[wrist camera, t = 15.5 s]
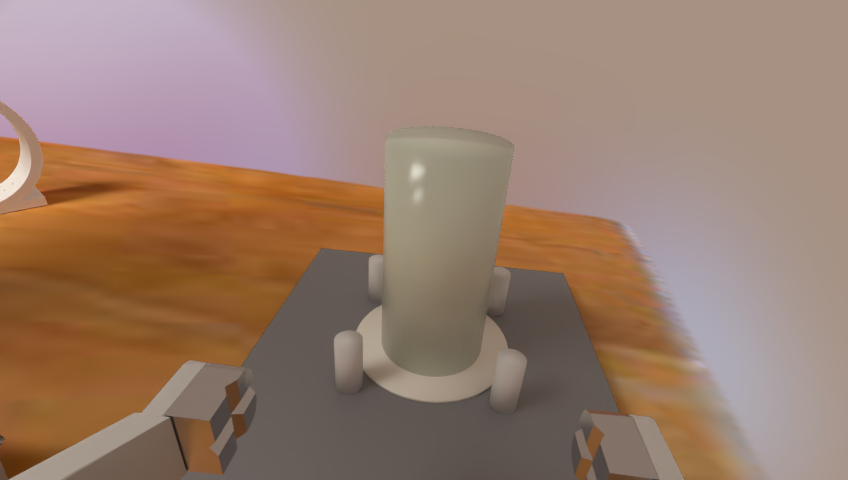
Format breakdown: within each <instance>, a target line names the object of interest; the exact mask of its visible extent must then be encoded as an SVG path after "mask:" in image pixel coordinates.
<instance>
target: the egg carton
mask: <svg viewBox="0 0 848 480" xmlns="http://www.w3.org/2000/svg"><path fill="white" fill-rule="evenodd" d="M3 441H4V437H3V436H1V435H0V445H1V444H2V443H3ZM0 480H8V479H7V476H6V473H5V470H4V467H3V465H2V463H1V461H0Z"/></svg>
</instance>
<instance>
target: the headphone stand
mask: <svg viewBox="0 0 848 480" xmlns="http://www.w3.org/2000/svg"><path fill="white" fill-rule="evenodd" d="M0 113H1V114H2V115H4V116H5V117H6V118H7V120H8V121H9V122H10V123H11V125H12V126H13V128H14V129H15V131H16V133H17V136H18V138H19V142H20V150H21V152H20V159H19V162H18V165H17V167H16V169H15V170H14V172H13V173H12V174H11V175H10V176H9V178H7V179H6V180H5V181H4V182H2V183H1V184H0V214H3V213H8V212H13V211H18V210H23V209H29V208H34V207H39V206H44V205H48V204H47V201H46V199H45V197H44V196H43V195H42V193H41V192H40V191H39V190H38V189H37V188H36V187H35V185H36V183H37V182H38V180H39V177H40V175H41V171H42V165H43V156H42V150H41V147H40V144H39V141H38V139H37V137H36V135H35V134H34V132H33V131H32V129H31V128H30V127H29V125H28V124H27V123H26V122H25V121H24V120H23V119H22V118H21V117H20V116H19V115H18V114H17V113H16V112H14V111H13V110H12V109H10V108H9V107H8V106H7V105H5V104H4V103H2V102H1V101H0Z"/></svg>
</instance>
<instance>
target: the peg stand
mask: <svg viewBox="0 0 848 480" xmlns="http://www.w3.org/2000/svg"><path fill="white" fill-rule="evenodd" d="M382 287H383V255H382V254H372V253H363V252H353V251H344V250H334V249H324V248H321V249H320V251H319V252H318V254H317V255H316V257H315V258H314V260H313V261H312V263H311V264H310V266H309V267H308V269H307V270H306V272H305V273H304V275H303V276H302V277H301V279H300V280H299V282H298V283H297V285H296V286H295V288H294V289H293V291H292V292H291V294H290V295H289V297H288V298H287V300H286V301H285V303H284V304H283V305H282V307H281V308H280V310H279V311H278V313H277V314H276V316H275V317H274V319H273V320H272V322H271V323H270V325H269V326H268V328H267V329H266V331H265V332H264V333H263V335H262V336H261V338H260V339H259V341H258V342H257V344H256V345H255V347H254V348H253V350H252V351H251V353H250V354H249V356H248V357H247V359H246V360H245V361H244V363H243V364H242V366H241V367H242V368H248V369H251V370H252V375H253V381H252V383H251V385H250V387H251V388H252V389H253V390H254V391H255V393H256V398H257V403H256V411H255V414H254V418H253V421H252V423H251V425H250V427H249V429H248V431H247V432H246V433H245V434H243V435H242V436H240V437H239V438H237V439H236V443H237V448H238V449H237V451H236V452H235V454H234V456H233V458H232V460H231V461H230V463H229V465H228V467H227V469H226V470H225V472H224V474H223V475H220V474H210V473H201V472H191V471H187V474H186V475H184V476H183V477H182V478H181V479H179V480H579V479H578V478H577V477H576V476H575V474H574V469H573V465H572V457H571V450H572V441H573V437H574V434H575V432H577V431H579V430H580V429H582V428H581V424H580V417H581V414H582V412H583V411H584V410H585V409H587V410H596V411H605V412H614V413H620V412H619V409H618V407H617V405H616V402H615V400H614V397H613V395H612V392H611V390H610V387H609V385H608V382H607V380H606V377H605V375H604V372H603V370H602V367H601V365H600V363H599V360H598V358H597V355H596V353H595V350H594V348H593V345H592V343H591V340H590V338H589V335H588V333H587V330H586V328H585V325H584V323H583V321H582V318H581V316H580V313H579V311H578V308H577V306H576V303H575V301H574V298H573V296H572V293H571V291H570V288H569V286H568V283H567V281H566V279H565V276H564V274H563V273H554V272H545V271H535V270H525V269H516V268H506V267H497V266H495V267H494V273H493V279H492V286H491V292H490V298H489V304H488V310H487V316H486V322H485V328H484V334H483V340H482V346H481V352H480V354H479V357H478V358H477V360H476V361H475V362H474V363H473V364H472V365H471V366H470V367H469V368H467V369H466V370H464V371H462V372H459V373H456V374H453V375H449V376H442V377H430V376H422V375H417V374H414V373H411V372H409V371H406V370H404V369H402V368H401V367H399V366H397V365H396V364H395V363H393V362H392V361H391V360H390V359H389V358H388V356H387V355H386V353H385V352H384V350H383V347H382V341H381V337H382Z"/></svg>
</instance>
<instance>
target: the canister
mask: <svg viewBox="0 0 848 480" xmlns="http://www.w3.org/2000/svg"><path fill="white" fill-rule="evenodd" d="M513 152H514V145H513V144H512V143H511V142H510V141H508V140H506V139H504V138H502V137H499V136H496V135H493V134H489V133H485V132H481V131H476V130H470V129H463V128H453V127H435V126H432V127H431V126H425V127H410V128H403V129H399V130H395V131H392V132H390V133H388V134H387V135H386V138H385V186H384V236H383V287H382V337H381V341H382V347H383V350H384V352H385V353H386V355H387V356H388V358H389V359H390V360H391V361H392V362H393V363H395V364H396V365H397V366H399V367H401V368H402V369H404V370H406V371H409V372H411V373H414V374H417V375H422V376H430V377H442V376H449V375H453V374H456V373H459V372H462V371H464V370H466V369H467V368H469V367H470V366H471V365H472V364H473V363H474V362H475V361H476V360H477V358H478V357H479V354H480V352H481V346H482V340H483V334H484V328H485V322H486V316H487V310H488V304H489V298H490V292H491V286H492V279H493V273H494V267H495V261H496V255H497V249H498V243H499V237H500V231H501V225H502V219H503V213H504V207H505V201H506V194H507V189H508V183H509V176H510V170H511V164H512V158H513Z"/></svg>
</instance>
